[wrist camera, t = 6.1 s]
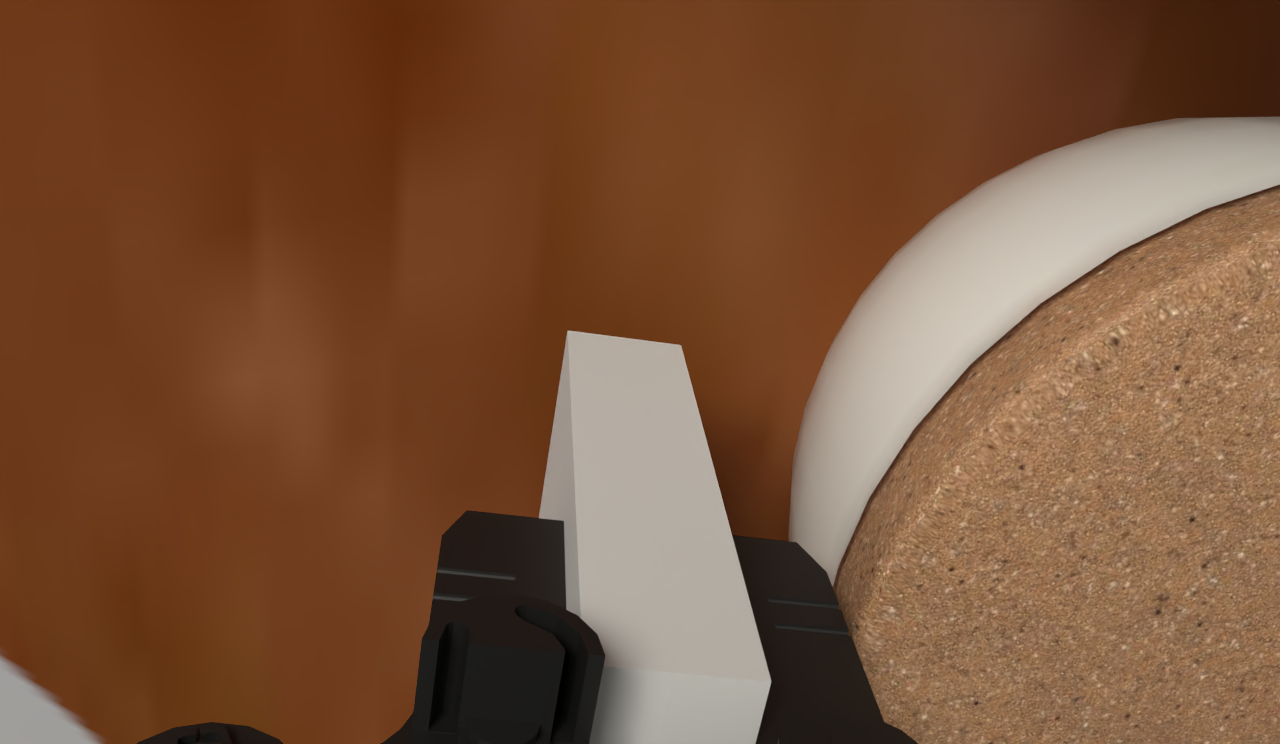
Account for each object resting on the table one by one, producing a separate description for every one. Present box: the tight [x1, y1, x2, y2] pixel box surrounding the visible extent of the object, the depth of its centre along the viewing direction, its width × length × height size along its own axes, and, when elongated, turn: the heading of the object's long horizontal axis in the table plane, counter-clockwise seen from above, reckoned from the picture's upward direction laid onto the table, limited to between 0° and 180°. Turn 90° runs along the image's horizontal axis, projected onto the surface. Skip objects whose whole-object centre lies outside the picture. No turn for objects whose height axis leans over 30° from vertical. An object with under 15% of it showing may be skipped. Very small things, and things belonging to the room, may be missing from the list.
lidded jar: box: [788, 117, 1280, 744], centre depth 15 cm, size 11×11×9 cm
